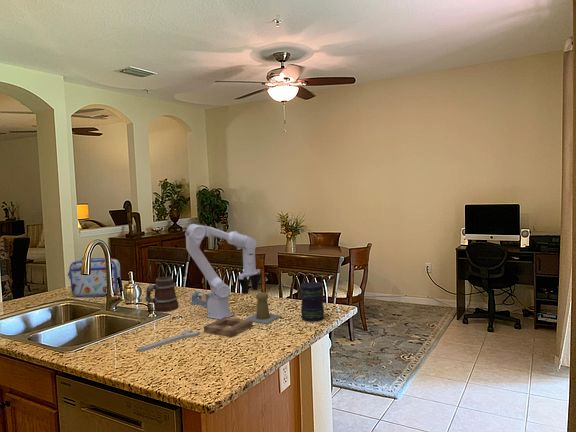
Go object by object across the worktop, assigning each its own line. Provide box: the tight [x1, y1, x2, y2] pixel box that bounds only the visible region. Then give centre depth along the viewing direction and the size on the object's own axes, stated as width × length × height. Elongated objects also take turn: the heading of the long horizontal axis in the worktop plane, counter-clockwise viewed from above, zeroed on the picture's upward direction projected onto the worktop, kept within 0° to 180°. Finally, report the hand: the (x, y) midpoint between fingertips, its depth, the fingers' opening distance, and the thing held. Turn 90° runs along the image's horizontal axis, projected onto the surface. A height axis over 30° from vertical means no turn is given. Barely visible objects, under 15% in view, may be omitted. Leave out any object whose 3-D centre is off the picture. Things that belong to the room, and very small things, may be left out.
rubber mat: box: [243, 313, 283, 325], centre depth 189 cm, size 12×12×1 cm
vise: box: [184, 289, 213, 309], centre depth 217 cm, size 18×10×7 cm, turn 48°
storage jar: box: [300, 281, 325, 323], centre depth 186 cm, size 10×10×15 cm
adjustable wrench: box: [137, 329, 201, 353], centre depth 164 cm, size 25×6×2 cm, turn 132°
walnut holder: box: [203, 316, 253, 338], centre depth 176 cm, size 14×14×2 cm
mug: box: [144, 276, 179, 312], centre depth 209 cm, size 16×12×15 cm
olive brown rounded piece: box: [255, 292, 270, 320], centre depth 188 cm, size 6×6×11 cm
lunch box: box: [67, 257, 121, 298], centre depth 243 cm, size 28×10×22 cm, turn 93°
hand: (250, 291), depth 200 cm, fingers open, 7 cm apart
